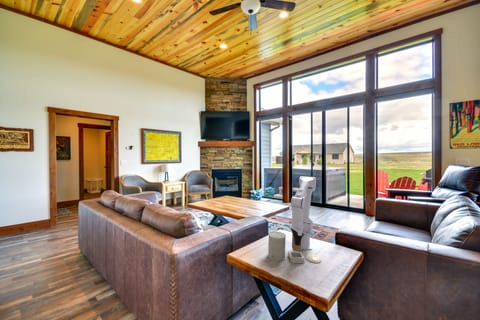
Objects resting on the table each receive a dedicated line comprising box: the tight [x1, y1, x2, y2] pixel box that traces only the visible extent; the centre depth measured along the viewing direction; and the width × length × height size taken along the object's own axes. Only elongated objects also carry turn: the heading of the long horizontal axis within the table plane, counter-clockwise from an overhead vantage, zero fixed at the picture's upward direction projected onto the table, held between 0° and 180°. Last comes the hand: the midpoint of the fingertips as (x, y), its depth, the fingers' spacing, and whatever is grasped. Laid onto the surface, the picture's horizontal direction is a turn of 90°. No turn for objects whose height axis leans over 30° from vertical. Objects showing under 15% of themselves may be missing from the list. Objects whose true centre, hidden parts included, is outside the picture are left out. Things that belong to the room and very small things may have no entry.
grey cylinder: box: [267, 231, 287, 262], centre depth 118 cm, size 10×10×12 cm
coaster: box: [305, 254, 323, 264], centre depth 116 cm, size 8×8×1 cm
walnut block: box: [291, 234, 302, 252], centre depth 115 cm, size 4×4×7 cm
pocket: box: [287, 251, 305, 264], centre depth 115 cm, size 7×7×2 cm
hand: (296, 243), depth 115 cm, fingers closed on walnut block, 4 cm apart
